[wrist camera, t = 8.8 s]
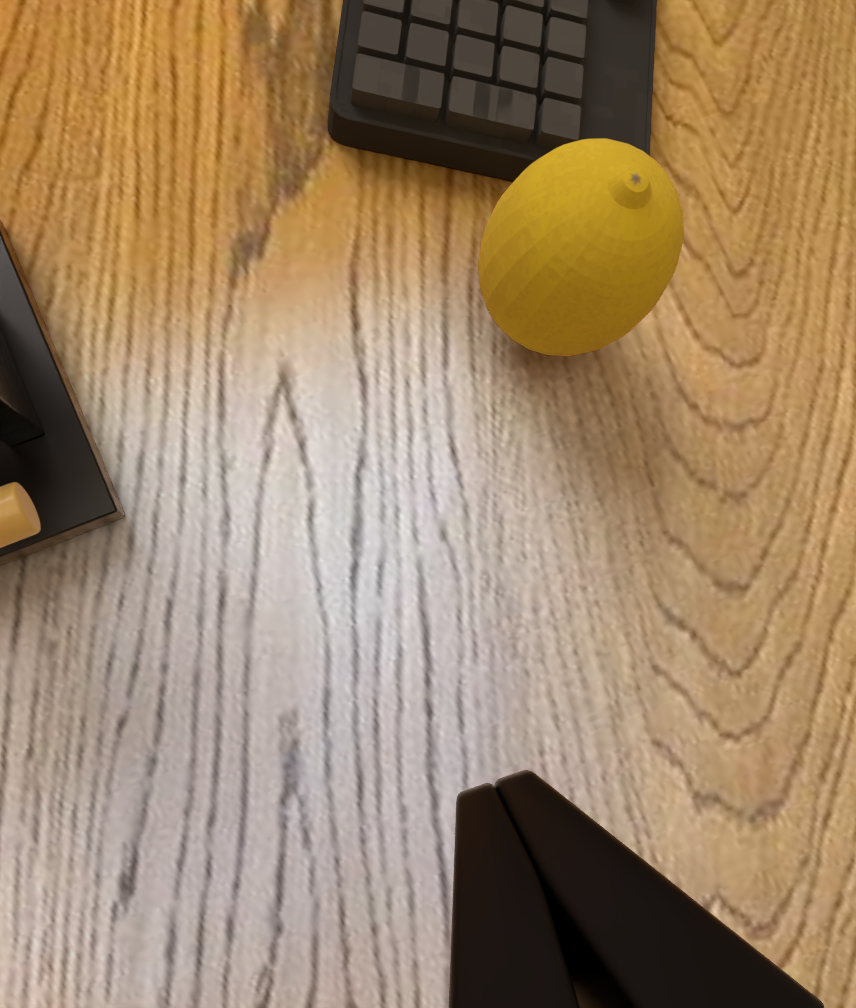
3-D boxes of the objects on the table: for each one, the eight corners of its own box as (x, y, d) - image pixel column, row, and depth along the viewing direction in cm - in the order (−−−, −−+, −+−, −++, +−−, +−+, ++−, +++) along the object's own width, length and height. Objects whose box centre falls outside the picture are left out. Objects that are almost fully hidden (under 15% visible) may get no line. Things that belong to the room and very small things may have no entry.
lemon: (460, 225, 26) (538, 53, 18) (608, 255, 27) (741, 104, 19) (445, 373, 25) (521, 259, 17) (599, 400, 26) (736, 302, 18)
